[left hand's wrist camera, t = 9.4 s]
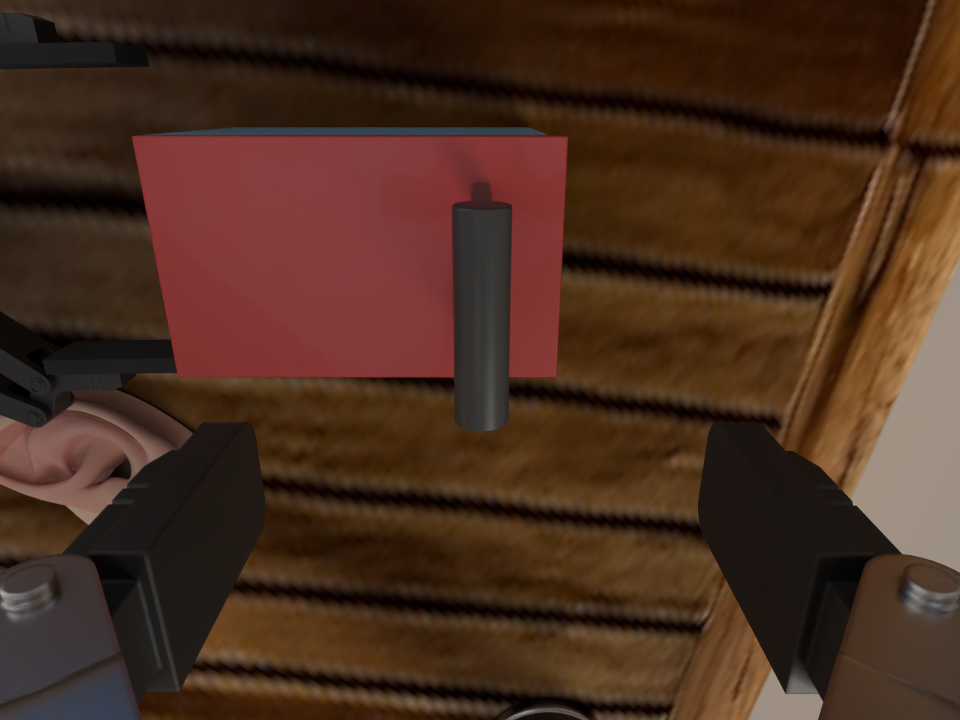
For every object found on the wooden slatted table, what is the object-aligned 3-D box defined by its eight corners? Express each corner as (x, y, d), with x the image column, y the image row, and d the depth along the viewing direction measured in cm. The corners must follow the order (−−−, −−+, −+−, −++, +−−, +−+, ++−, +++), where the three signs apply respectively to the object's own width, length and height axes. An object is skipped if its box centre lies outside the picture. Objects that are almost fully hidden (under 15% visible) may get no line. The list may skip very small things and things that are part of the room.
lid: (565, 135, 25) (607, 148, 17) (554, 370, 28) (584, 475, 20) (141, 135, 25) (-24, 148, 16) (185, 370, 28) (68, 476, 20)
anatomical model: (231, 554, 39) (76, 611, 41) (253, 515, 43) (110, 569, 44) (104, 370, 34) (-65, 443, 36) (140, 345, 38) (-14, 411, 40)
